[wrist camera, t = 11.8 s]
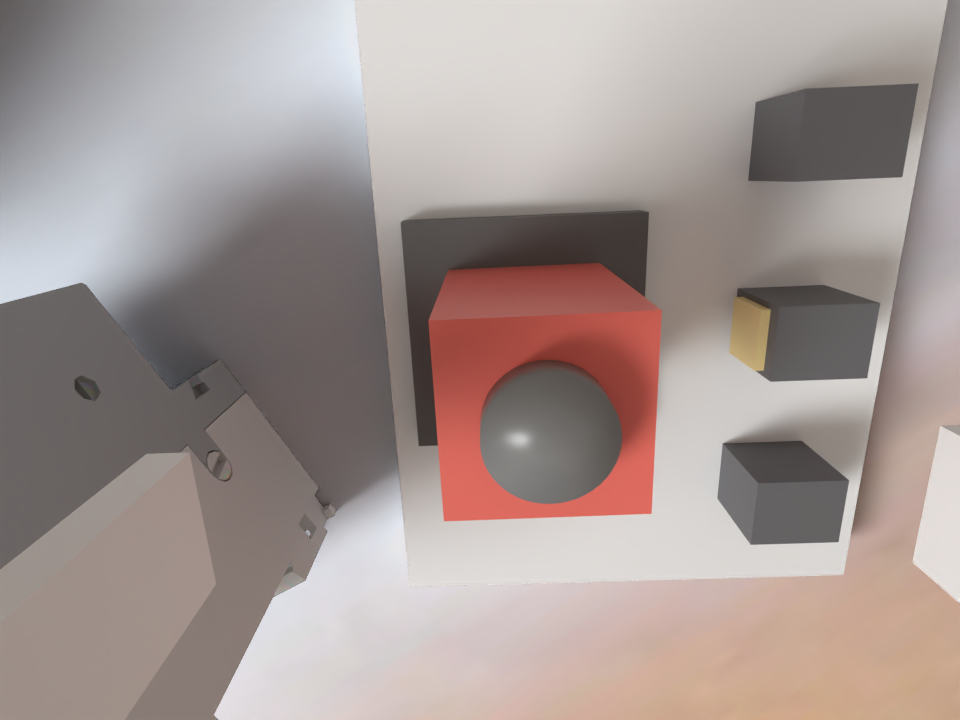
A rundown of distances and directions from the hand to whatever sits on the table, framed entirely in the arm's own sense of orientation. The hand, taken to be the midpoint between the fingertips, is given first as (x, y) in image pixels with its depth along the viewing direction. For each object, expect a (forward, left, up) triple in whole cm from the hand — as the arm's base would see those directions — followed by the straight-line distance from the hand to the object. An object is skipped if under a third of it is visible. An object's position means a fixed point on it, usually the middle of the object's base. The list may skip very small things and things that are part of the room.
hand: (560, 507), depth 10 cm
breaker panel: (0, -4, -13) cm, 14 cm away
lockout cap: (0, 0, -10) cm, 10 cm away
